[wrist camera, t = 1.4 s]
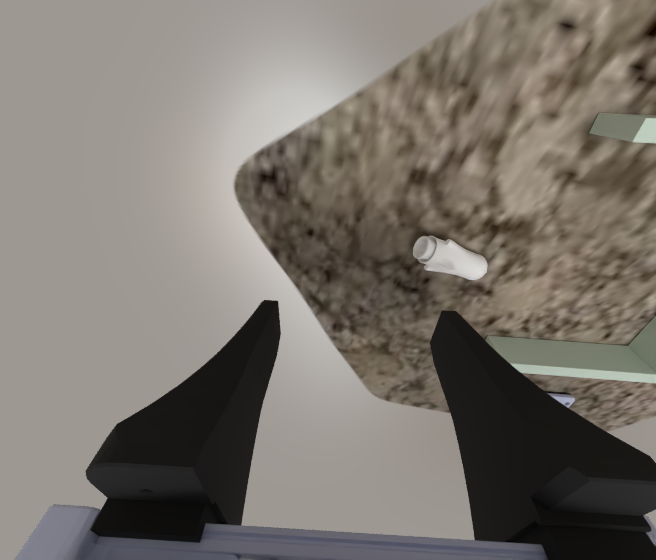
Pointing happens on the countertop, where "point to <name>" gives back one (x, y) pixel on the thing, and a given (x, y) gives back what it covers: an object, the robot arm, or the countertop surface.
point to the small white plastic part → (449, 258)
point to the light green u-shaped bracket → (589, 358)
